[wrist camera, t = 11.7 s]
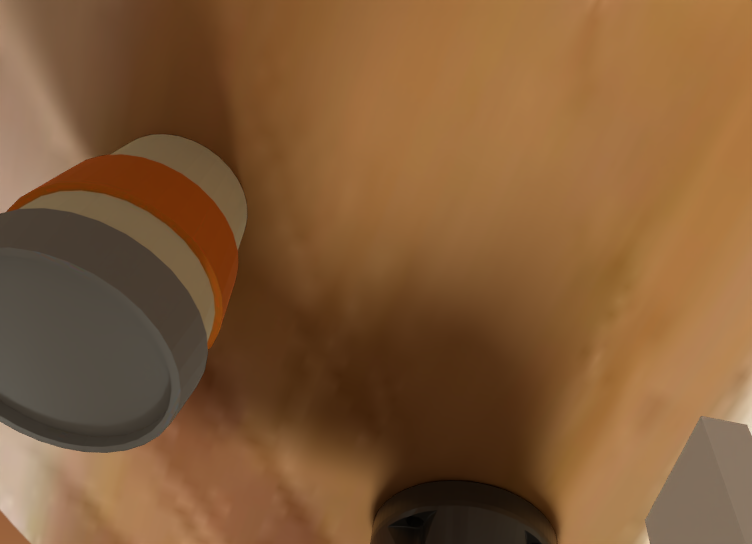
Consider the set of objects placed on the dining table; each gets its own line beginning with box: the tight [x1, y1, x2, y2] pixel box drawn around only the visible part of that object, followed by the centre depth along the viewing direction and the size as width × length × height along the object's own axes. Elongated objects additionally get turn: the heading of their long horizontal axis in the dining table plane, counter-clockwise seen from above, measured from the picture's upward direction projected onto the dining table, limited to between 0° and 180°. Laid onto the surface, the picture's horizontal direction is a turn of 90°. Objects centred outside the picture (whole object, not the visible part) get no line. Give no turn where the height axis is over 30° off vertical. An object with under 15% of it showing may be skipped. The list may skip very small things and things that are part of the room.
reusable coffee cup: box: [0, 134, 247, 453], centre depth 38 cm, size 13×13×15 cm
